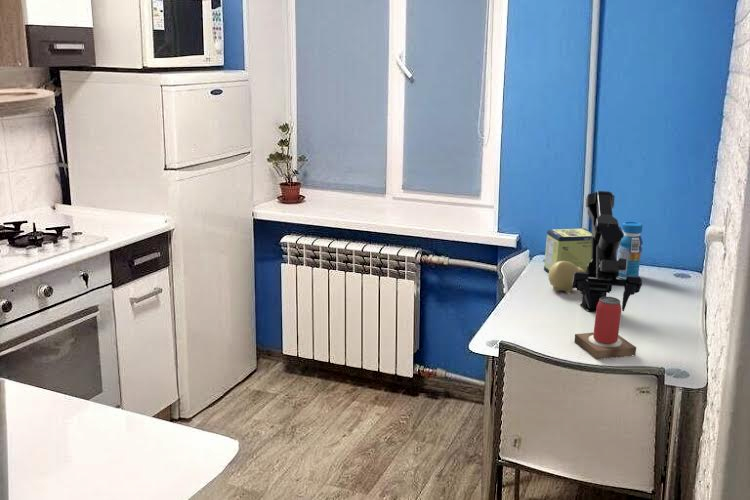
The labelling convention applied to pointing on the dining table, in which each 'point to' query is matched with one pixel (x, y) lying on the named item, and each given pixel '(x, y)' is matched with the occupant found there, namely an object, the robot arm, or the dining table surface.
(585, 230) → the protein box
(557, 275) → the toy pig
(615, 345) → the plinth
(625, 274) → the beverage bottle
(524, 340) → the dining table surface
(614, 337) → the beer can
